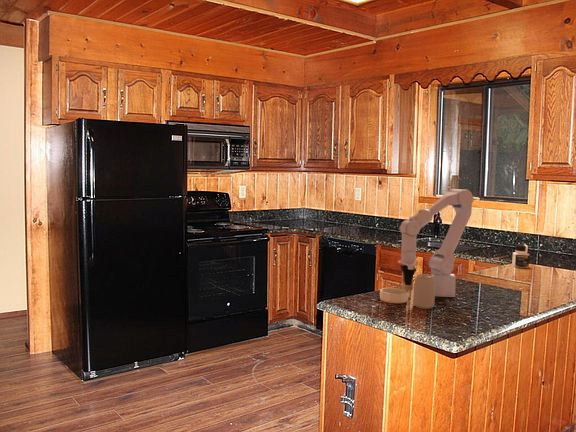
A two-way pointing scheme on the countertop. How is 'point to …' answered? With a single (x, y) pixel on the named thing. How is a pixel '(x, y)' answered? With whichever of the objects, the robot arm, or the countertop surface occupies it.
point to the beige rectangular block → (406, 287)
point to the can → (424, 291)
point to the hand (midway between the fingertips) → (407, 284)
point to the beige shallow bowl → (393, 295)
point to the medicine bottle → (521, 256)
